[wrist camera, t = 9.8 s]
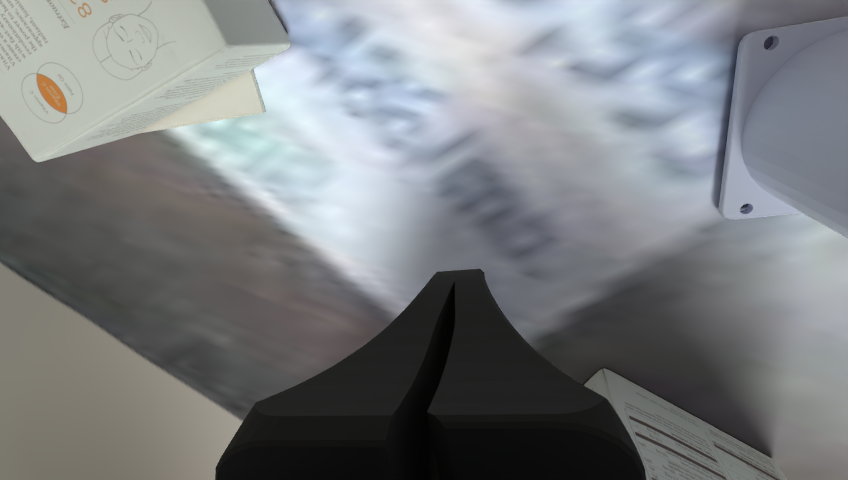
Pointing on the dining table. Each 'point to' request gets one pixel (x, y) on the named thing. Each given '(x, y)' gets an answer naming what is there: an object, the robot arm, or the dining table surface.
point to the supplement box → (679, 437)
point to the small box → (120, 63)
